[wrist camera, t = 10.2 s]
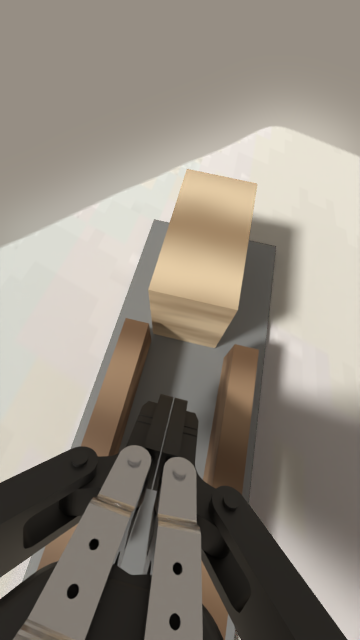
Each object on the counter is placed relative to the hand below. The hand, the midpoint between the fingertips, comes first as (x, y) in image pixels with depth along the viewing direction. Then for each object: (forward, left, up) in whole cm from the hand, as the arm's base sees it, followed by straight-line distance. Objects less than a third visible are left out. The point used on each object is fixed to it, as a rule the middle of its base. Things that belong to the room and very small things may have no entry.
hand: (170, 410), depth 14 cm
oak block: (-8, -7, -5) cm, 12 cm away
